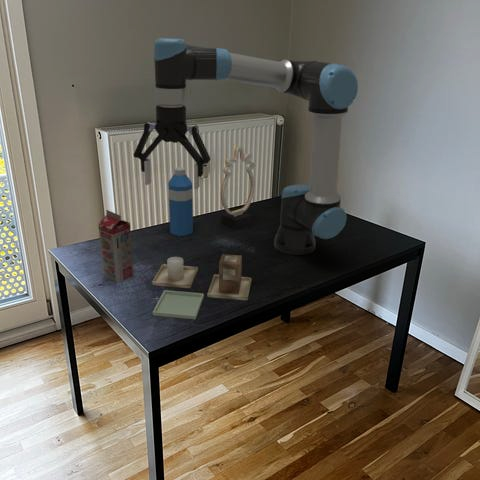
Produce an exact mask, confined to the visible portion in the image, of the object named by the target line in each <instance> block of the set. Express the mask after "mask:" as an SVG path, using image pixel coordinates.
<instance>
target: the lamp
mask: <svg viewBox="0 0 480 480" xmlns="http://www.w3.org/2000/svg"><path fill="white" fill-rule="evenodd" d="M244 152H245V151H244V148H243V147H241V146H236V147H235V148H234V152H233V158H231V157H227V158H226V159H225V165H226V166H225V167H224V168H223V174H224V175H225V176H224V178H223V181H222V184H221V187H220V200H221V205H222V207H223V209H224V211H225V212H224V213H221V216H220V217H221V219H220V222H221V223H222V224H224V225H226V226H228V227H230V228H232V229H234V230H237V229H240V228H243V227H246V226H250V225H252V220H253V219H252V218H253V215H252V214H249V213H247V212H246V211H247V210H248V209H249V207H250V205H251V203H252V200H253V198H254V193H255V186H256V184H255V183H256V182H255V177H254V174H253V173H254V172H252V171H253V170H254V169H255V168H256V164H255V162H254V161H251V159H252V158H253V154H252V153H249V152H247V153H244ZM239 158H240V160H241V163H244V164H246V165H250V166H248V167H246V172H247V174H248V177H249V181H250V188H249V193H248V198H247V200H246V202H245V204H244V206H243V207H242V208H239V209H238V208H236V209H233V210H230V209H229V208H228V205H227V202H226V197H225V196H226V195H225V193H226V188H227V184H228V181H229V179H230V177H231V175H232V172H230V171H229V170H231V169H233V168H234V165H233V164H232V163H234V164H236V163H237V162H238V160H239Z"/></svg>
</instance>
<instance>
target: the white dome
mask: <svg viewBox="0 0 480 480" xmlns="http://www.w3.org/2000/svg"><path fill="white" fill-rule="evenodd" d="M166 261H167V263H166V264H167V269H168V279H169V280H171V281H179V280H182V279H183V278H184V268H183V266H184V258H182V257H180V256H170V257H169V258H167V260H166Z"/></svg>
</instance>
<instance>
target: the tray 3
mask: <svg viewBox="0 0 480 480" xmlns="http://www.w3.org/2000/svg"><path fill="white" fill-rule="evenodd" d="M252 280H253V279H252V277H249V276H241V286H240V291H239V294H230V293H219V274H213V277H212V280H211V282H210V285H209V288H208V291H207V294H206V297H207V298H214V299H225V300H226V299H227V300H236V301H237V300H238V301H248V300H249V294H250V291H251V290H250V289H251V285H252V282H253V281H252Z"/></svg>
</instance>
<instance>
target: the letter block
mask: <svg viewBox="0 0 480 480" xmlns="http://www.w3.org/2000/svg"><path fill="white" fill-rule="evenodd" d="M221 254H222V255H221V256H220V259H219V263H218V275H219V293H230V294H239V291H240V286H241V277H242V267H243V266H242V264H243V255H239V254H238V255H236V254H227V253H226V254H225V253H221Z"/></svg>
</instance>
